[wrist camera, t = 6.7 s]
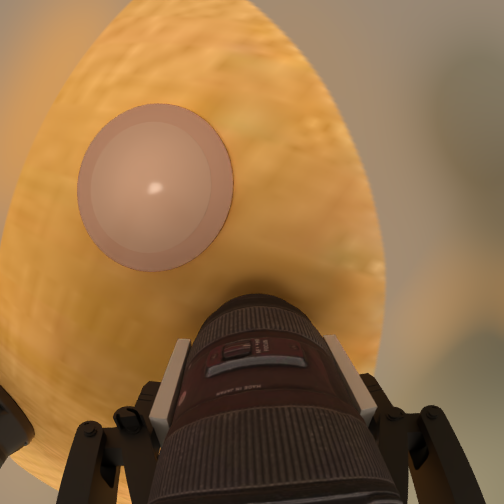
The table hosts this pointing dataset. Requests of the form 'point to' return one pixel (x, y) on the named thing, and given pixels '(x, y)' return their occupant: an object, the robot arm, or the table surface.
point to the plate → (155, 187)
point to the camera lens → (266, 418)
